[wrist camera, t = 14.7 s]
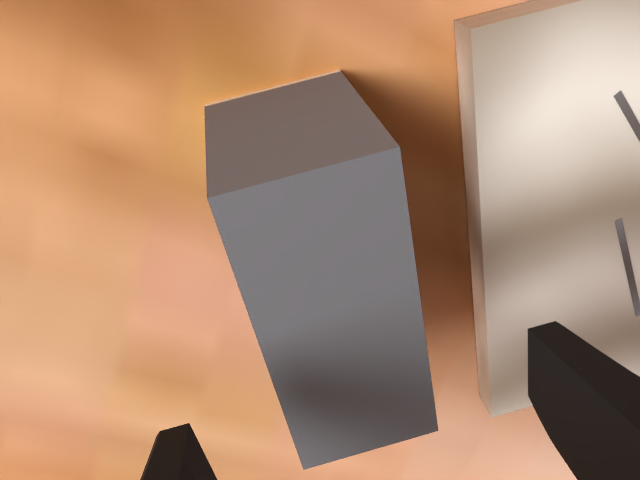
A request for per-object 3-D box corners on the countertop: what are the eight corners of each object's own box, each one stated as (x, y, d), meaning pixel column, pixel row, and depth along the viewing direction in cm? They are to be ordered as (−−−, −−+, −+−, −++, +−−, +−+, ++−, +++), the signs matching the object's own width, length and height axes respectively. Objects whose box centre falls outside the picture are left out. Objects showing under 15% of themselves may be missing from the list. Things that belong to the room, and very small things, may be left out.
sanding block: (381, 303, 21) (438, 430, 16) (278, 332, 21) (303, 469, 16) (338, 68, 17) (399, 146, 12) (204, 103, 16) (207, 198, 11)
